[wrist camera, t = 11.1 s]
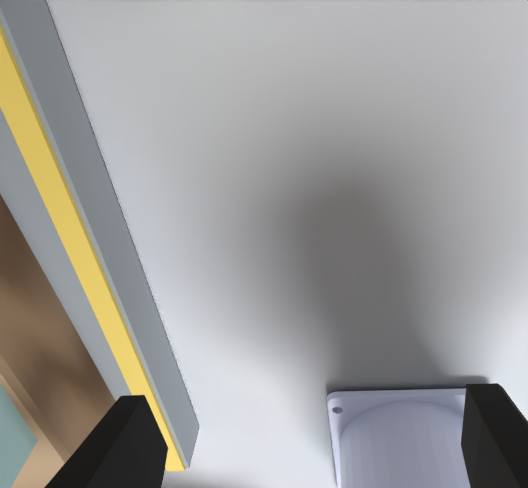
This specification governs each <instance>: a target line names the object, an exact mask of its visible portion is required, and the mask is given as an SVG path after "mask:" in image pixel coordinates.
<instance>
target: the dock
mask: <svg viewBox="0 0 528 488" xmlns="http://www.w3.org/2000/svg"><path fill="white" fill-rule="evenodd" d="M0 194H1V196H2V197H3V199H4V201H5V203H6V205H7V206H8V208H9V210H10V212H11V214H12V215H13V217H14V219H15V221H16V223H17V224H18V226H19V228H20V230H21V232H22V233H23V235H24V237H25V239H26V241H27V242H28V244H29V246H30V248H31V250H32V251H33V253H34V255H35V257H36V259H37V260H38V262H39V264H40V266H41V268H42V269H43V271H44V273H45V275H46V277H47V278H48V280H49V282H50V284H51V286H52V287H53V289H54V291H55V293H56V295H57V296H58V298H59V300H60V302H61V304H62V305H63V307H64V309H65V311H66V313H67V314H68V316H69V318H70V320H71V322H72V323H73V325H74V327H75V329H76V331H77V332H78V334H79V336H80V338H81V340H82V341H83V343H84V345H85V347H86V349H87V350H88V352H89V354H90V356H91V358H92V359H93V361H94V363H95V365H96V367H97V368H98V370H99V372H100V374H101V376H102V377H103V379H104V381H105V383H106V385H107V387H108V388H109V390H110V392H111V394H112V396H113V397H114V399H115V401H117V400H118V399H119V397H120V396H125V395H145V397H146V399H147V401H148V403H149V406H150V408H151V410H152V412H153V415H154V417H155V419H156V421H157V424H158V426H159V428H160V430H161V433H162V435H163V437H164V439H165V441H166V444H167V446H168V453H167V459H166V464H165V469H166V471H185V468H189V467H190V463H191V459H192V455H193V451H194V447H195V442H196V438H197V434H198V430H199V424H198V421H197V419H196V416H195V413H194V410H193V408H192V405H191V402H190V399H189V397H188V394H187V391H186V388H185V385H184V383H183V380H182V377H181V374H180V372H179V369H178V366H177V363H176V361H175V358H174V355H173V352H172V349H171V347H170V344H169V341H168V338H167V336H166V333H165V330H164V327H163V325H162V322H161V319H160V316H159V313H158V311H157V308H156V305H155V302H154V300H153V297H152V294H151V291H150V289H149V286H148V283H147V280H146V277H145V275H144V272H143V269H142V266H141V264H140V261H139V258H138V255H137V252H136V250H135V247H134V244H133V241H132V239H131V236H130V233H129V230H128V228H127V225H126V222H125V219H124V216H123V214H122V211H121V208H120V205H119V203H118V200H117V197H116V194H115V192H114V189H113V186H112V183H111V180H110V178H109V175H108V172H107V169H106V167H105V164H104V161H103V158H102V156H101V153H100V150H99V147H98V144H97V142H96V139H95V136H94V133H93V131H92V128H91V125H90V122H89V120H88V117H87V114H86V111H85V108H84V106H83V103H82V100H81V97H80V95H79V92H78V89H77V86H76V84H75V81H74V78H73V75H72V72H71V70H70V67H69V64H68V61H67V59H66V56H65V53H64V50H63V48H62V45H61V42H60V39H59V36H58V34H57V31H56V28H55V25H54V23H53V20H52V17H51V14H50V12H49V9H48V6H47V3H46V0H0Z"/></svg>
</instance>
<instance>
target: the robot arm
mask: <svg viewBox="0 0 528 488" xmlns="http://www.w3.org/2000/svg"><path fill="white" fill-rule="evenodd" d="M327 409H328V417H329V425H330V433H331V441H332V449H333V456H334V464H335V472H336V480H337V488H528V421H527V420H526V419H525V417H524V416H523V415H522V413H521V412H520V411H519V409H518V408H517V407H516V405H515V404H514V402H513V401H512V400H511V398H510V397H509V396H508V394H507V393H506V391H505V390H504V389H503V387H502V386H500V385H499V384H498V383H497V384H466V388H461V389H421V390H381V391H341V392H332V393H330V394H328V396H327ZM167 453H168V446H167V444H166V441H165V439H164V437H163V435H162V433H161V430H160V428H159V426H158V424H157V421H156V419H155V417H154V415H153V412H152V410H151V408H150V406H149V403H148V401H147V399H146V397H145V395H125V396H120V397H119V399H118V400H117V401H116V402H115V403H114V404H113V406H112V407H111V408H110V409H109V410H108V412H107V413H106V414H105V415H104V416H103V418H102V419H101V420H100V421H99V423H98V424H97V425H96V426H95V428H94V429H93V430H92V431H91V432H90V434H89V435H88V436H87V437H86V439H85V440H84V441H83V442H82V443H81V445H80V446H79V447H78V448H77V449H76V451H75V452H74V453H73V454H72V455H71V457H70V458H69V459H68V460H67V461H66V463H65V464H64V465H63V466H62V467H61V468H60V470H59V471H58V472H57V473H56V474H55V476H54V477H53V478H52V479H51V480H50V482H49V483H48V484H47V485H46V486H45V487H44V488H161V485H162V480H163V475H164V470H165V464H166V459H167Z"/></svg>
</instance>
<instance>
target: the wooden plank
mask: <svg viewBox="0 0 528 488" xmlns="http://www.w3.org/2000/svg"><path fill="white" fill-rule="evenodd" d="M0 384H1V385H2V387H3V388H4V390H5V391H6V393H7V394H8V396H9V397H10V399H11V400H12V402H13V404H14V405H15V407H16V408H17V410H18V411H19V413H20V414H21V416H22V417H23V419H24V420H25V422H26V423H27V425H28V426H29V428H30V429H31V431H32V432H33V434H34V435H35V437H36V438H37V440H38V441H37V443H36V445H35V446H34V448H33V450H32V452H31V453H30V455H29V457H28V459H27V460H26V462H25V464H24V466H23V467H22V469H21V471H20V473H19V474H18V476H17V478H16V480H15V481H14V483H13V485H12V487H11V488H44V487H45V486H46V485H47V484H48V483H49V482H50V480H51V479H52V478H53V477H54V476H55V474H56V473H57V472H58V471H59V470H60V468H61V467H62V466H63V465H64V464H65V463H66V461H67V460H68V459H69V458H70V457H71V455H72V454H73V453H74V452H75V451H76V449H77V448H78V447H79V446H80V445H81V443H82V442H83V441H84V440H85V439H86V437H87V436H88V435H89V434H90V432H91V431H92V430H93V429H94V428H95V426H96V425H97V424H98V423H99V421H100V420H101V419H102V418H103V416H104V415H105V414H106V413H107V412H108V410H109V409H110V408H111V407H112V406H113V404H114V403H115V402H116V401H115V399H114V397H113V396H112V394H111V392H110V390H109V388H108V387H107V385H106V383H105V381H104V379H103V377H102V376H101V374H100V372H99V370H98V368H97V367H96V365H95V363H94V361H93V359H92V358H91V356H90V354H89V352H88V350H87V349H86V347H85V345H84V343H83V341H82V340H81V338H80V336H79V334H78V332H77V331H76V329H75V327H74V325H73V323H72V322H71V320H70V318H69V316H68V314H67V313H66V311H65V309H64V307H63V305H62V304H61V302H60V300H59V298H58V296H57V295H56V293H55V291H54V289H53V287H52V286H51V284H50V282H49V280H48V278H47V277H46V275H45V273H44V271H43V269H42V268H41V266H40V264H39V262H38V260H37V259H36V257H35V255H34V253H33V251H32V250H31V248H30V246H29V244H28V242H27V241H26V239H25V237H24V235H23V233H22V232H21V230H20V228H19V226H18V224H17V223H16V221H15V219H14V217H13V215H12V214H11V212H10V210H9V208H8V206H7V205H6V203H5V201H4V199H3V197H2V196H1V194H0Z"/></svg>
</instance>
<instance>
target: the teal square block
mask: <svg viewBox="0 0 528 488" xmlns="http://www.w3.org/2000/svg"><path fill="white" fill-rule="evenodd" d="M37 441H38V440H37V438H36V437H35V435H34V434H33V432H32V431H31V429H30V428H29V426H28V425H27V423H26V422H25V420H24V419H23V417H22V416H21V414H20V413H19V411H18V410H17V408H16V407H15V405H14V404H13V402H12V400H11V399H10V397H9V396H8V394H7V393H6V391H5V390H4V388H3V387H2V385H1V384H0V488H11V487H12V485H13V483H14V481H15V480H16V478H17V476H18V474H19V473H20V471H21V469H22V467H23V466H24V464H25V462H26V460H27V459H28V457H29V455H30V453H31V452H32V450H33V448H34V446H35V445H36V443H37Z"/></svg>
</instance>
